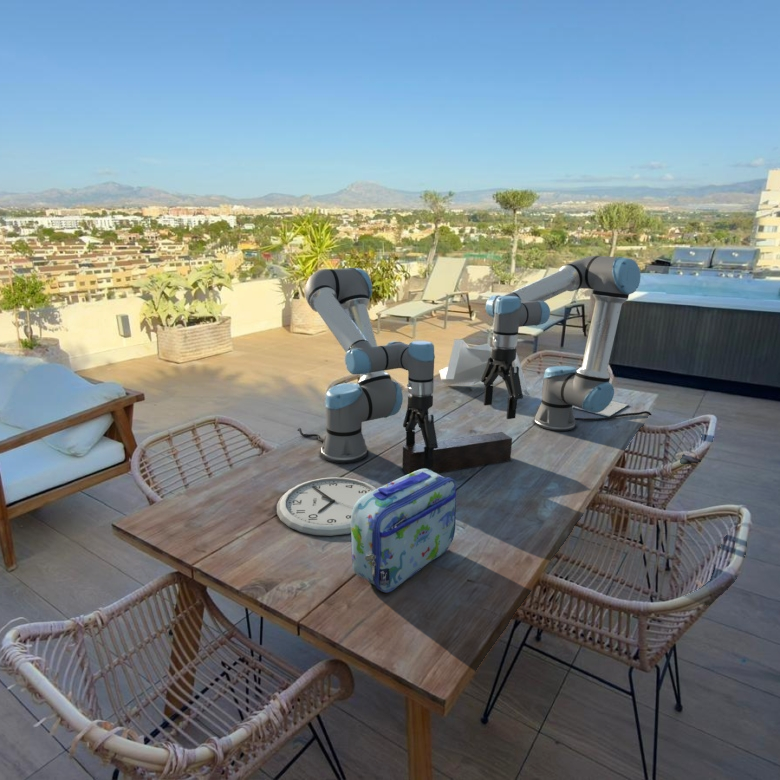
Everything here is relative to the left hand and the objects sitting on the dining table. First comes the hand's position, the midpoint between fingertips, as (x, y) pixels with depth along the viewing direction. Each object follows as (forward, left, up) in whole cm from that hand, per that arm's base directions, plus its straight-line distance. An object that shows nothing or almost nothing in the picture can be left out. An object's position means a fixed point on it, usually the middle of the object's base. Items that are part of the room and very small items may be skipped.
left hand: (418, 459), depth 162 cm
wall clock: (-10, -31, -4) cm, 33 cm away
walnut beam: (+8, +11, -4) cm, 15 cm away
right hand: (+17, +22, +12) cm, 31 cm away
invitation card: (+37, +99, -4) cm, 106 cm away
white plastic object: (-15, +89, -4) cm, 90 cm away
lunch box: (+20, -44, -4) cm, 48 cm away
